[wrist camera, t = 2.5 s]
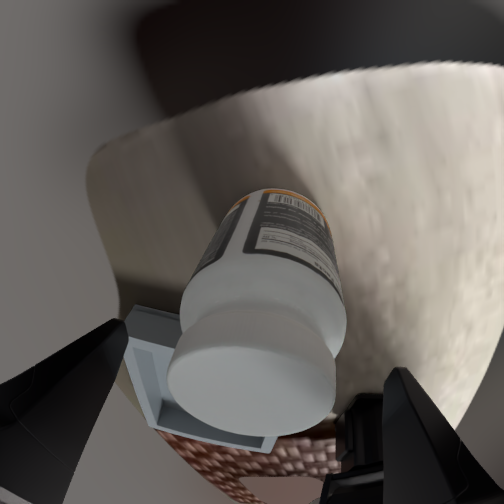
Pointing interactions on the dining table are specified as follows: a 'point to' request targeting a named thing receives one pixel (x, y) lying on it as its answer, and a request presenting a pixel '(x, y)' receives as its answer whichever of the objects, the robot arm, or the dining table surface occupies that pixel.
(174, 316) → the tray
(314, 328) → the pill bottle
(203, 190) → the dining table surface
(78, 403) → the robot arm
